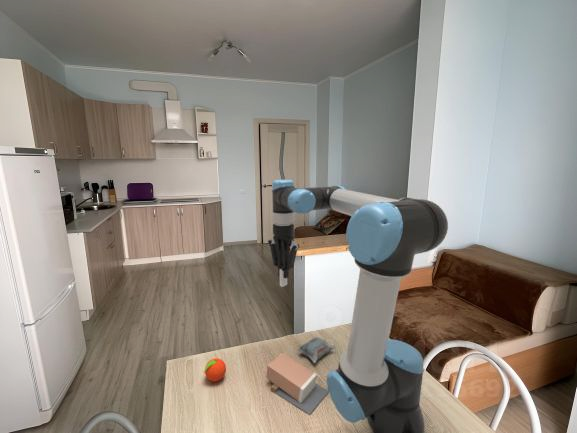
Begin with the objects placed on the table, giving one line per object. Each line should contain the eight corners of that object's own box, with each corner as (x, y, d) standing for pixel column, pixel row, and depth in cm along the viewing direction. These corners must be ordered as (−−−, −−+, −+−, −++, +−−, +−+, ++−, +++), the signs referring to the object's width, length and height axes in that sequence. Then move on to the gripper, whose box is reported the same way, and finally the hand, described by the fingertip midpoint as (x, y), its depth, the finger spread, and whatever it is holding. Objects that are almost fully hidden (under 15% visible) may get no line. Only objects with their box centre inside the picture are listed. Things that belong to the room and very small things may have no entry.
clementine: (210, 391, 94) (209, 372, 92) (198, 381, 98) (197, 362, 97) (230, 377, 100) (229, 359, 98) (218, 368, 104) (217, 350, 103)
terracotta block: (281, 364, 103) (315, 386, 95) (266, 377, 97) (301, 403, 89) (282, 352, 101) (317, 374, 94) (267, 365, 95) (303, 390, 87)
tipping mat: (329, 391, 94) (329, 387, 93) (309, 415, 85) (309, 410, 85) (291, 371, 103) (291, 367, 102) (270, 390, 94) (270, 386, 94)
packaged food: (335, 353, 112) (335, 341, 111) (314, 368, 104) (314, 355, 103) (317, 343, 119) (317, 331, 118) (296, 356, 111) (296, 344, 110)
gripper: (304, 224, 104) (303, 286, 109) (276, 219, 112) (276, 277, 116) (291, 228, 98) (291, 293, 103) (262, 222, 106) (263, 284, 111)
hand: (283, 285), depth 110 cm, fingers closed
